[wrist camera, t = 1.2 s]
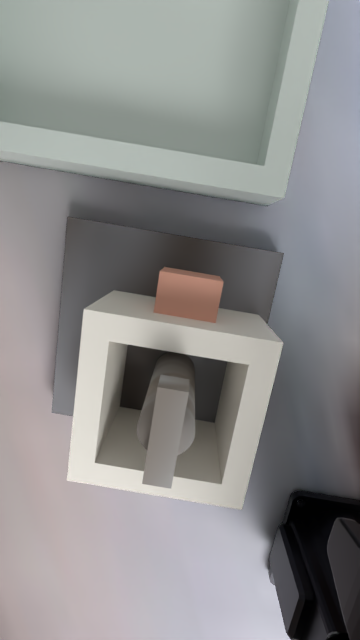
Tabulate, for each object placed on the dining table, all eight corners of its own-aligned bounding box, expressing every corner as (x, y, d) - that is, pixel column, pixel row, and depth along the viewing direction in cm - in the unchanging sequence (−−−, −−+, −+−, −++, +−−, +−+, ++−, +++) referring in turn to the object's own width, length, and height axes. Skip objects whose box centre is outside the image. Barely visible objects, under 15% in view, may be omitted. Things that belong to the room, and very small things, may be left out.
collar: (266, 281, 15) (294, 297, 11) (229, 442, 18) (241, 510, 13) (117, 256, 15) (88, 262, 11) (98, 420, 18) (66, 480, 13)
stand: (278, 252, 16) (340, 260, 9) (236, 433, 18) (262, 546, 12) (75, 217, 16) (-12, 201, 9) (59, 403, 18) (-20, 498, 12)
